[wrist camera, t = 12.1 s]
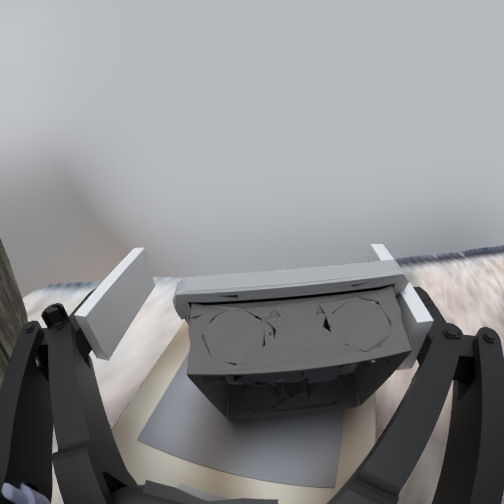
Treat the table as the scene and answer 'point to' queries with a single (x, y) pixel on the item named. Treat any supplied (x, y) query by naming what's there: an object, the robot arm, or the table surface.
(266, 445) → the mounting board
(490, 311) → the table surface
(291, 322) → the electrical switch
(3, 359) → the tabletop clock
